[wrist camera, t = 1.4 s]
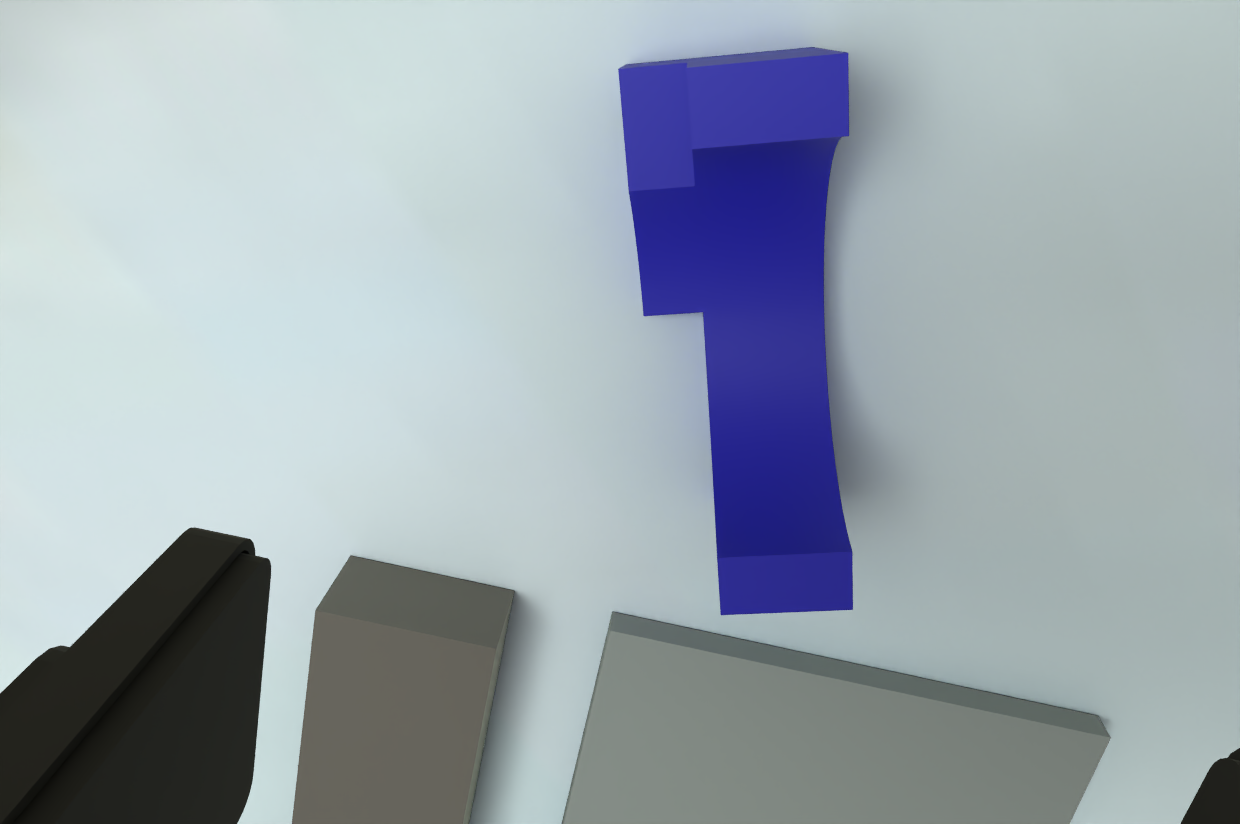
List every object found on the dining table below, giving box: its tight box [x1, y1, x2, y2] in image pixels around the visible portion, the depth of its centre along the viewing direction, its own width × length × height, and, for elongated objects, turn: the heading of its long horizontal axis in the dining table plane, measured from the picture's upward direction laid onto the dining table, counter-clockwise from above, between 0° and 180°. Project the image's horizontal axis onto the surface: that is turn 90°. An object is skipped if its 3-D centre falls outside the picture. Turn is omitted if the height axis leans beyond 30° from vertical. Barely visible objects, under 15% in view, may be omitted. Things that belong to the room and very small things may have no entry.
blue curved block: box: [618, 47, 853, 615], centre depth 24 cm, size 12×4×6 cm, turn 5°
